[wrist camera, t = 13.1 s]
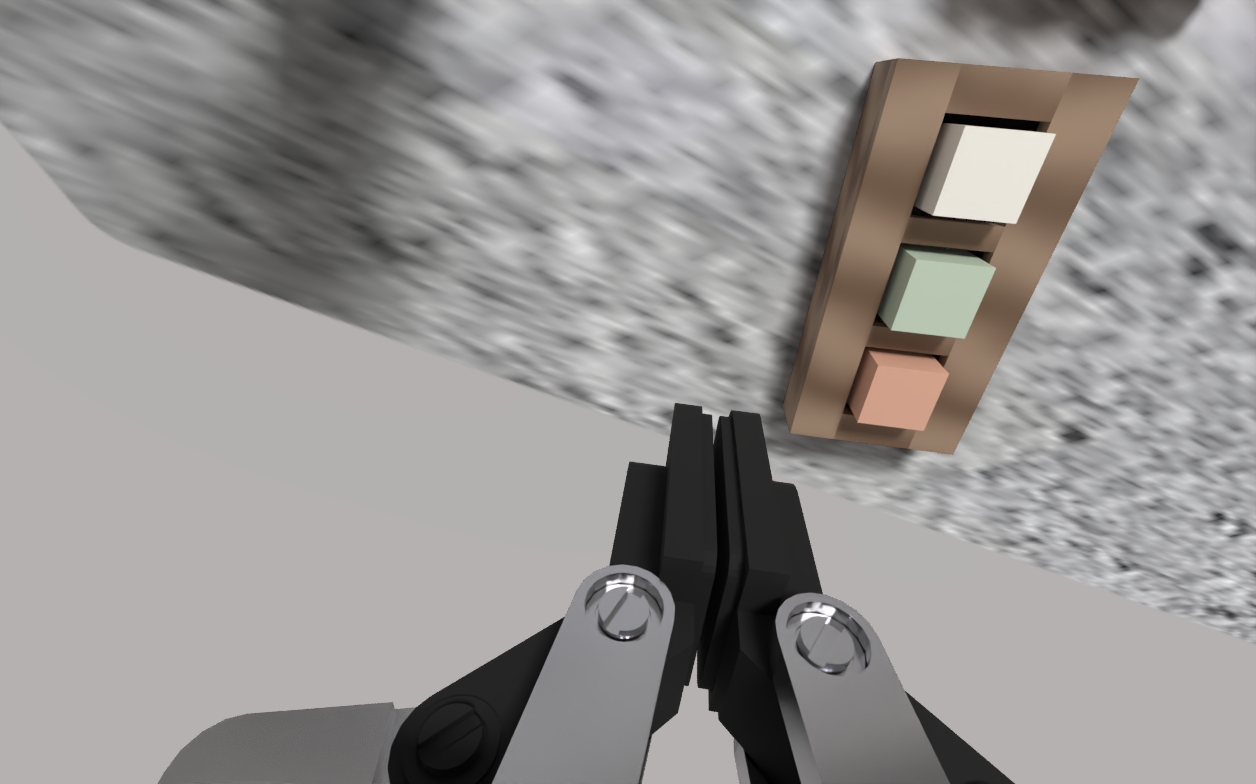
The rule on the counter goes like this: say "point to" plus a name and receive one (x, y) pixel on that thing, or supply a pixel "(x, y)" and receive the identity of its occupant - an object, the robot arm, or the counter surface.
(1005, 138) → the cream cube
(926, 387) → the terracotta key
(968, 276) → the sage key
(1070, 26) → the counter surface
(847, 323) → the wooden compartment tray
